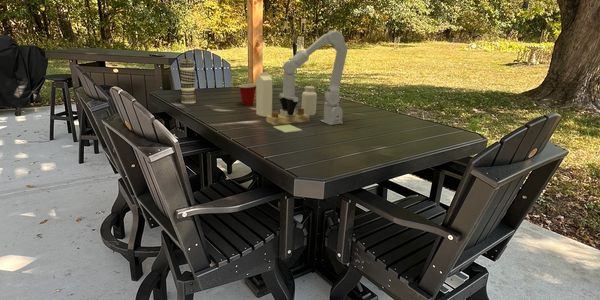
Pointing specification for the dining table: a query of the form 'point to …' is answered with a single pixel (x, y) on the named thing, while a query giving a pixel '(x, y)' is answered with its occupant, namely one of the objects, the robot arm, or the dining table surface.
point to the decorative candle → (187, 81)
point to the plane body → (287, 118)
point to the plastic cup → (247, 93)
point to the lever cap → (286, 113)
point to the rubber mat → (287, 128)
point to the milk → (264, 95)
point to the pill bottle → (309, 100)
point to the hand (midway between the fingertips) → (288, 113)
